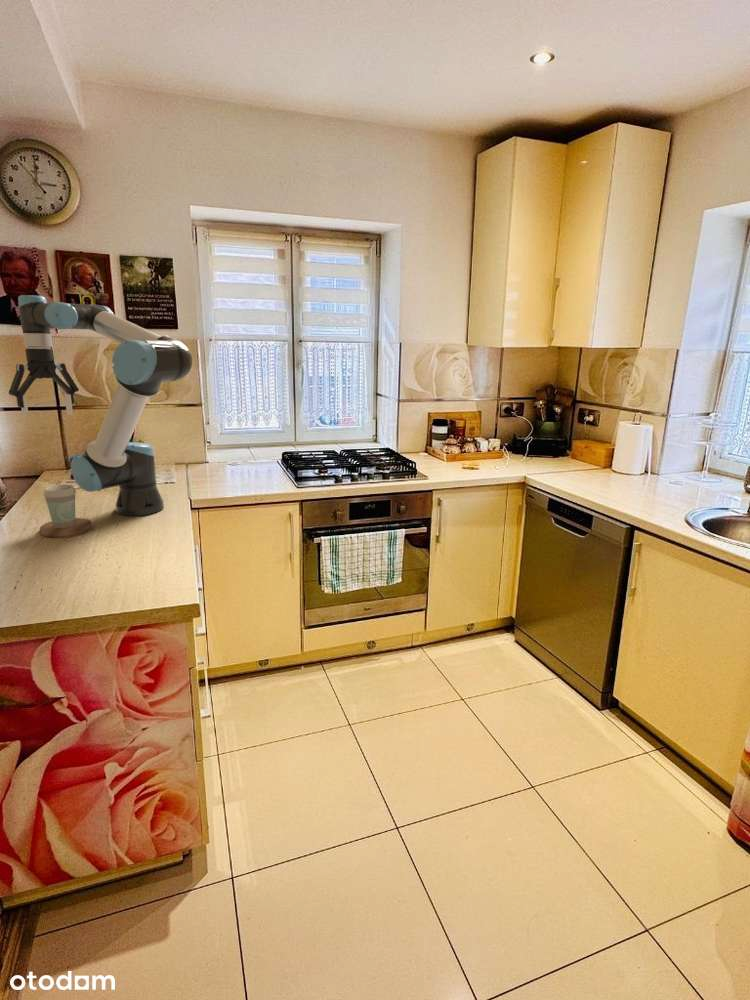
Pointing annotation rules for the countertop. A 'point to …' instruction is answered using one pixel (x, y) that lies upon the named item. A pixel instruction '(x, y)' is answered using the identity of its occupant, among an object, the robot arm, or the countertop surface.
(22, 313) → the robot arm
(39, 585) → the countertop surface
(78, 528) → the walnut trivet
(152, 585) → the countertop surface
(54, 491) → the coffee cup
